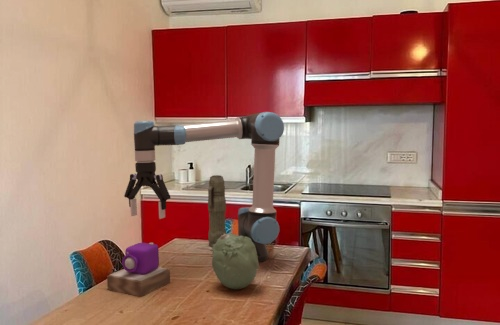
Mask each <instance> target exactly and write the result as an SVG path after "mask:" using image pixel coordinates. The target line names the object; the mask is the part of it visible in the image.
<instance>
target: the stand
mask: <svg viewBox="0 0 500 325" xmlns="http://www.w3.org/2000/svg"><path fill="white" fill-rule="evenodd" d="M106 278H107V279H106V284H107V290H109V291H114V292H118V293H121V294H126V295H132V296H137V297H140V298H143V297H145V296H146V295H148V294H150V293H153V292H154V291H156V290H158V289H160V288H162V287H164V286H166V285H168V284H170V283H171V269H170V268H166V267H159V266H158V268H156V269H154V270H152V271H150V272H148V273H146V274H139V273H133V272H127V271H126V270H125V269H124V268H123V269H120V270H117V271H115V272H112V273H110V274H109V275H106Z"/></svg>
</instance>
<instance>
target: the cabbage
mask: <svg viewBox="0 0 500 325" xmlns="http://www.w3.org/2000/svg"><path fill="white" fill-rule="evenodd" d="M212 246H213V247H211V248H212V249H210V250H209V252H211V253H212V255H210V257H211V259H212V260H211V267H212V269H213V272H214V274H215V276H216V277H217V279H218V281H219V283H220V284H222V285H223V286H225V287H226V288H228V289H231V290H242V289H245V288H247V287H248V286H249V285H250V284H252V282H253V281H254V280H255V279H256V276H257V271H258V268H259V265H260V264H259V263H260V262H258V256H257V251H256V248H255V245H254V244H253V242H252V240H251V239H250V238H249V237H246V236H245V237H244V236H242V235H241V236H238V234H234V233H226V234H222V235H221V237H220V238H219V239H217V242H216V243H215V245H212Z"/></svg>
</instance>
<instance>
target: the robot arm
mask: <svg viewBox="0 0 500 325" xmlns="http://www.w3.org/2000/svg"><path fill="white" fill-rule="evenodd" d="M284 131H285V124H284V121H283V119H282V118H281V117H280V116H279V114H277V113H275V112H272V111H271V112H270V111H263V112H256V113H253V114H249V115H245V116H238V117H236V118H235V119H233V120H232V119H231V120H221V121H220V120H219V121H209V122H208V121H207V122H198V123H187V124H186V123H185V124H175V125H155V122H154V121H153V120H139V121H135V122H134V123H133V143H134V161H135V164H134V165H135V172H136V173H131V174H129V181H128V183H127V186H126V190H125V192H124V195H123V196H124V198H127V200H128V204H129V208H130V217H135V216H138V207H137V206H138V204H137V198H136V197H137V195H138V193H139V191H140V190H141V188H142V187H149V188H150V189H151V190H152V191H153V192H154V193H155V195H156V196H157V198H158V199H159V201H158V219H159V220H161V219H164V218H166V209H167V200H170V199H171V195H170V193H169V190H168V188H167V186H166V183H165V181H164V179H163V178H164V177H163V176H164V175H163V174H161V173H160V174H156V170H157V168H156V167H157V164H156V162H155V161H156V146H158V147H159V146H183V145H185V144H186V143H193V142H201V141H211V140H212V141H213V140H223V139H232V138H237V139H238V140H245V139H247V140H251V143H250V145H251V146H252V147H253V148H254V157H253V160H254V162H253V181H252V182H253V184H252V202H251V203H252V204H251V206H246V207H240V208H238V212H237V218H238V219H237V221H238V222H237V233H238V234H237V235H238V236H241V235H242V236H244V237H245V236H246V237H249V238H250V239H251V240H252V242H253V244H254V245H255V248H256V251H257V256H258V262H259V263H261V262H264V261H267V260H268V259H269V251H268V247H267V245H268V244H271V243H273V242H274V241H276V239H277V238H278V236H279V233H280V225H279V222H278V221H277V209H276V208H274V188H275V169H276V168H275V165H276V164H275V162H276V150H277V148H278V147H279V146H280V139H281V137H282V135H284V133H285V132H284Z"/></svg>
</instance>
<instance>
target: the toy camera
mask: <svg viewBox="0 0 500 325" xmlns="http://www.w3.org/2000/svg"><path fill="white" fill-rule="evenodd" d="M124 252H125V254H124V256H123V258H122V261H121V264H122V267H123V269H125V270H126V271H127V272H133V273H139V274H146V273H148V272H150V271H152V270H154V269H156V268H158V267H159V265H160V264H159V263H160V262H159V261H160V256H159V252H160V250H159V245H158V244H156V243H154V242H149V243H147V242H138V243H136V244H133V245H129V246H128V247H126V249H125V251H124Z"/></svg>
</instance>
